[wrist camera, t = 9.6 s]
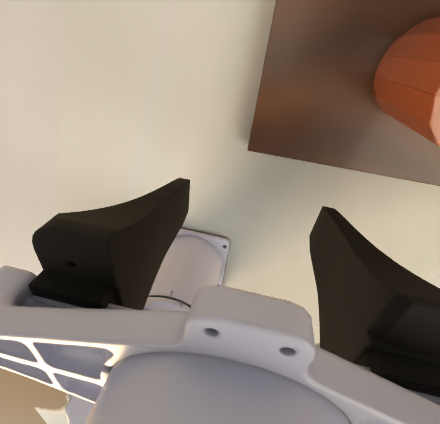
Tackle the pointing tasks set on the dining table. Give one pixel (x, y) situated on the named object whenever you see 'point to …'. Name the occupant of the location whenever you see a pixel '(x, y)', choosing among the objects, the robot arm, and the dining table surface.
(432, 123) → the tumbler
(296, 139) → the serving board
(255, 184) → the dining table surface
